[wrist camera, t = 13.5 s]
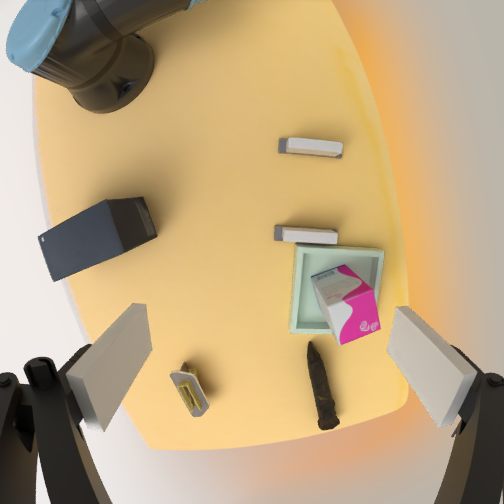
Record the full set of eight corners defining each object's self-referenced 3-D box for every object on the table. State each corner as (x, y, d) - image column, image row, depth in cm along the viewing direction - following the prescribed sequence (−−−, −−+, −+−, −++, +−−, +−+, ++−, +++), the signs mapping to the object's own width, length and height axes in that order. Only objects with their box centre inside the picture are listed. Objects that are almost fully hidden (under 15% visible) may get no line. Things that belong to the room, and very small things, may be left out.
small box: (94, 263, 44) (51, 284, 32) (81, 226, 42) (35, 236, 31) (159, 237, 42) (124, 253, 31) (144, 195, 41) (105, 197, 29)
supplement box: (320, 311, 43) (337, 347, 32) (309, 276, 42) (325, 304, 31) (355, 298, 42) (382, 330, 31) (346, 263, 41) (373, 286, 30)
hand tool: (336, 414, 48) (341, 430, 44) (317, 419, 48) (320, 435, 44) (325, 335, 45) (331, 349, 40) (301, 341, 45) (305, 356, 41)
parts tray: (295, 243, 42) (297, 247, 39) (377, 248, 41) (384, 251, 38) (288, 324, 44) (290, 333, 41) (365, 325, 44) (370, 333, 41)
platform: (210, 327, 45) (203, 347, 39) (245, 408, 48) (243, 432, 42) (147, 342, 46) (133, 361, 40) (187, 416, 49) (180, 439, 43)
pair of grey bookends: (278, 139, 39) (281, 132, 34) (340, 145, 39) (349, 139, 34) (274, 239, 42) (275, 245, 37) (334, 242, 42) (343, 248, 37)
